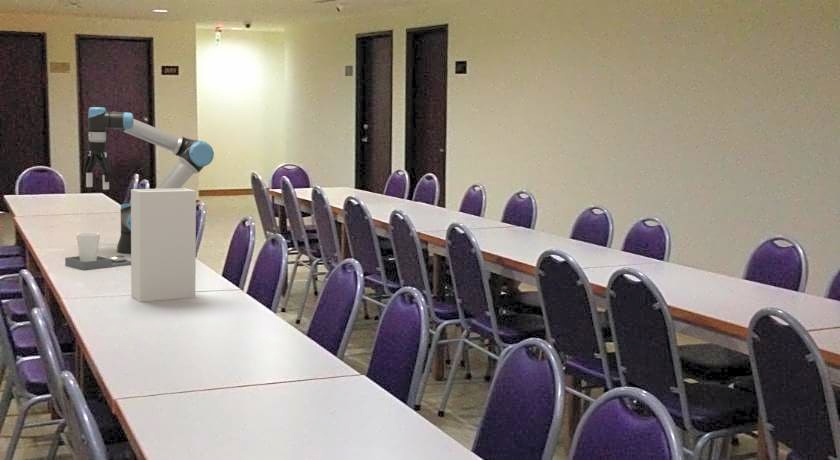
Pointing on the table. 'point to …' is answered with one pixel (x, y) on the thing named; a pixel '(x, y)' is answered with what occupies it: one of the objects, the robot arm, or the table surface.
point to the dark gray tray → (93, 263)
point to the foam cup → (88, 246)
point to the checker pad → (116, 258)
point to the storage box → (163, 244)
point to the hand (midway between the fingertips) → (97, 188)
